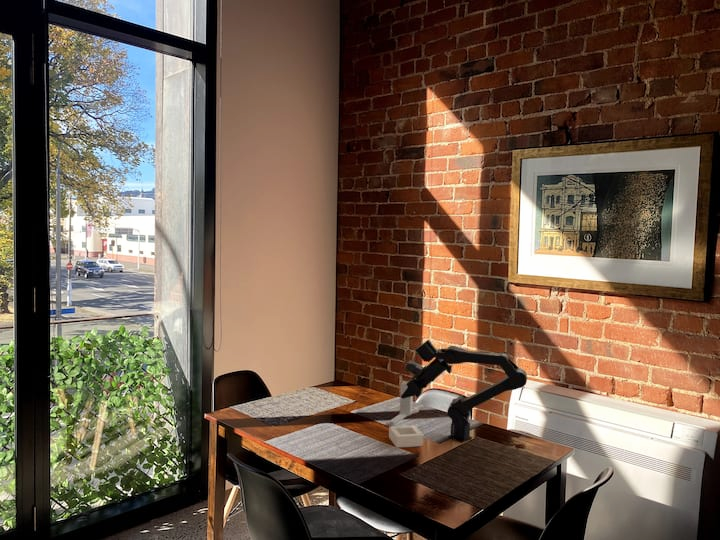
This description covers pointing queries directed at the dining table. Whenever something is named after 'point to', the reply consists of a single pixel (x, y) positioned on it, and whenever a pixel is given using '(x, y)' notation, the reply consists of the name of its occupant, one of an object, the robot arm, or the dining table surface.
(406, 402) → the steel peg
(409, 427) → the socket block
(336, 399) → the dining table surface
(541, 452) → the dining table surface
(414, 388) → the robot arm
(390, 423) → the adjustable wrench
